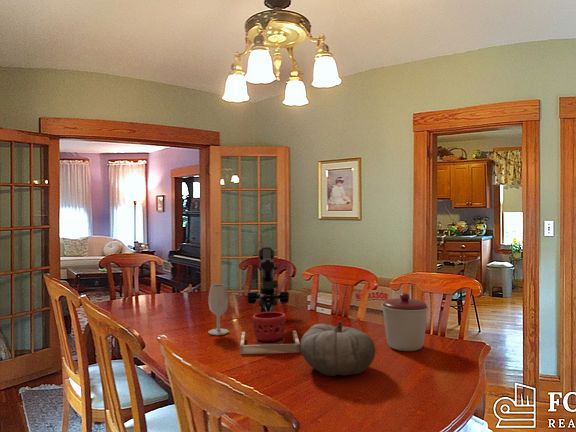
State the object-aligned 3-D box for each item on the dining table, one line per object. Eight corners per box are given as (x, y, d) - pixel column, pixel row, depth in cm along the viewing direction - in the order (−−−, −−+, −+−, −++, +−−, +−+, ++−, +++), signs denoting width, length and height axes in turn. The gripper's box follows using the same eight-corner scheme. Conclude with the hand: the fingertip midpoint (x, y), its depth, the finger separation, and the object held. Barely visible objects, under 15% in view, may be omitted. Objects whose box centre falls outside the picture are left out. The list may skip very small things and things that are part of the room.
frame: (242, 339, 184) (242, 331, 184) (295, 337, 185) (295, 330, 185) (240, 354, 165) (240, 346, 164) (300, 352, 166) (299, 344, 166)
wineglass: (232, 332, 193) (232, 285, 193) (216, 337, 187) (216, 287, 186) (220, 329, 199) (219, 282, 199) (204, 333, 193) (203, 285, 192)
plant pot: (288, 340, 182) (287, 311, 182) (282, 350, 169) (282, 318, 169) (257, 338, 184) (256, 310, 184) (249, 348, 171) (249, 317, 171)
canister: (372, 344, 176) (371, 291, 175) (408, 338, 183) (408, 287, 183) (400, 357, 159) (400, 299, 159) (439, 351, 166) (439, 295, 166)
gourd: (318, 382, 130) (319, 322, 133) (286, 369, 153) (287, 317, 156) (389, 378, 140) (388, 322, 143) (348, 366, 162) (348, 318, 165)
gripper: (247, 274, 199) (246, 304, 188) (288, 273, 200) (290, 303, 189) (247, 288, 207) (247, 317, 196) (287, 287, 208) (289, 316, 198)
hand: (268, 313), depth 195 cm, fingers closed
